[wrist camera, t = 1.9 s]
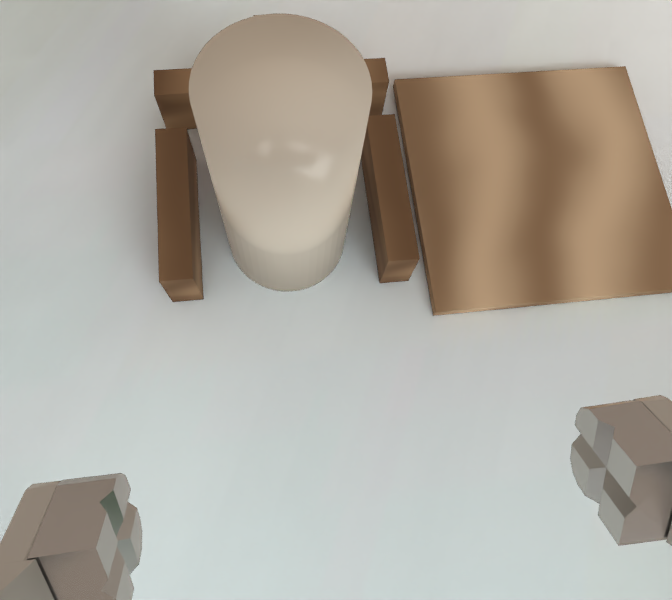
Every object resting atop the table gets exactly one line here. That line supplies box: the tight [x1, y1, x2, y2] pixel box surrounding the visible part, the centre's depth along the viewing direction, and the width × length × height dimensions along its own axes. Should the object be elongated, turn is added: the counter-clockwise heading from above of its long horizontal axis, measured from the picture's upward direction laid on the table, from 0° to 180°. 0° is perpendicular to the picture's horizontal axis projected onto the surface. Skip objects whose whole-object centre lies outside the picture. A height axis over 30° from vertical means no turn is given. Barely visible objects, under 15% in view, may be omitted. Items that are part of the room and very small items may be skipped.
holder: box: [154, 58, 420, 302], centre depth 30 cm, size 12×12×3 cm
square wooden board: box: [393, 66, 672, 316], centre depth 32 cm, size 14×14×1 cm
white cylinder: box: [189, 14, 372, 291], centre depth 25 cm, size 6×8×12 cm
